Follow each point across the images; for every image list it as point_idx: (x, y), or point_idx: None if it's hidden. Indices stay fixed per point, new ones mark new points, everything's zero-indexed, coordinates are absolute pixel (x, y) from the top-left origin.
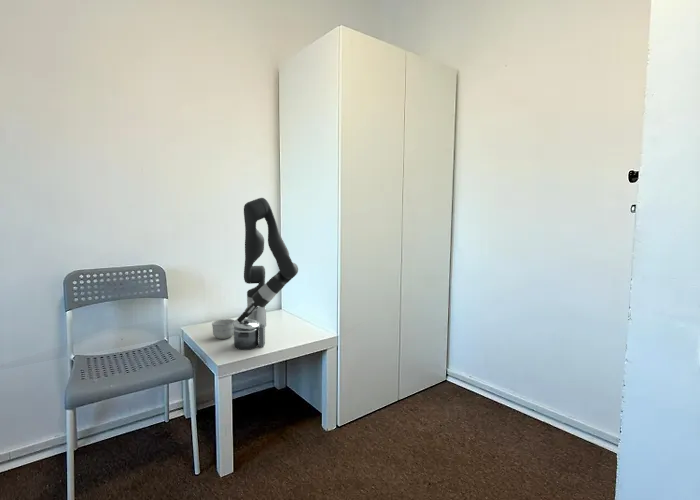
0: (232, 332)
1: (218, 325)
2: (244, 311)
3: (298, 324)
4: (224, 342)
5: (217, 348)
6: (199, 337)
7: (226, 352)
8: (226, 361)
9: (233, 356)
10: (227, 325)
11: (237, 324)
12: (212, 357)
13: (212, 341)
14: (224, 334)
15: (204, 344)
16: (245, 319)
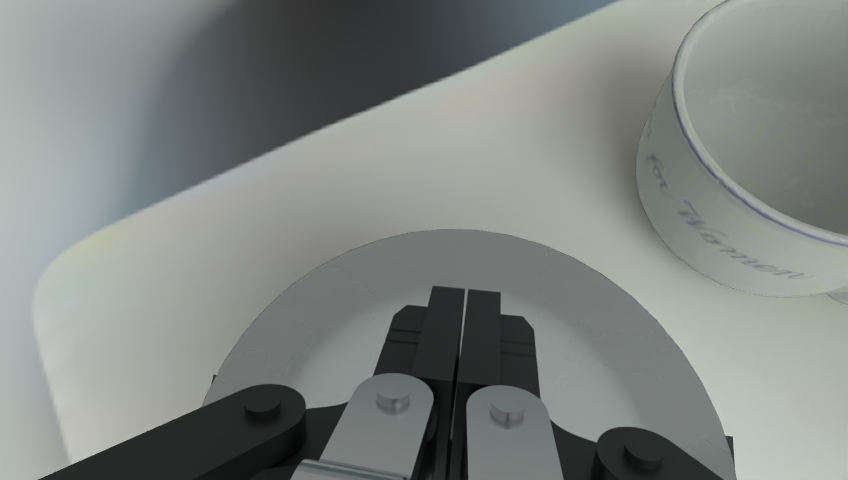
0: (721, 275)
1: (673, 66)
2: (482, 432)
3: None
4: (568, 232)
5: (406, 193)
6: (709, 2)
7: (284, 289)
8: (59, 319)
9: (161, 371)
10: (704, 174)
11: (302, 323)
12: (193, 187)
13: (601, 121)
14: (644, 195)
15: (523, 72)
16: None
